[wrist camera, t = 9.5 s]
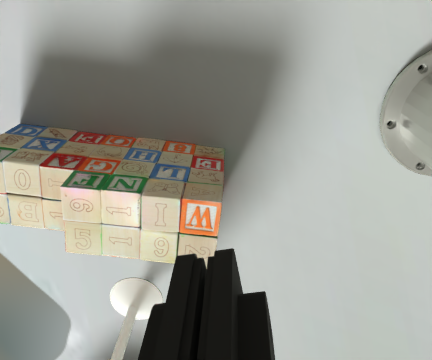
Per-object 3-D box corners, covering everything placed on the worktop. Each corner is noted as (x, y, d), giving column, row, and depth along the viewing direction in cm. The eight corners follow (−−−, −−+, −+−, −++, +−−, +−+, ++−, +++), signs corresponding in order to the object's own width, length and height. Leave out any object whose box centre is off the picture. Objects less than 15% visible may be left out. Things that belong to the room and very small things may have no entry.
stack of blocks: (25, 177, 43) (-48, 240, 32) (19, 122, 41) (-63, 169, 30) (219, 200, 43) (214, 271, 32) (226, 147, 41) (223, 204, 30)
